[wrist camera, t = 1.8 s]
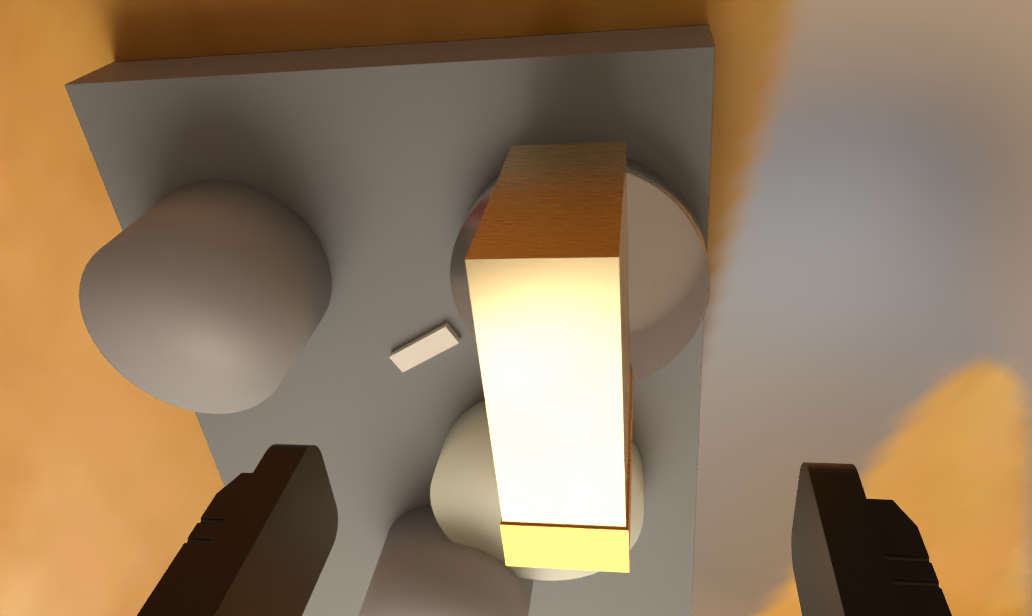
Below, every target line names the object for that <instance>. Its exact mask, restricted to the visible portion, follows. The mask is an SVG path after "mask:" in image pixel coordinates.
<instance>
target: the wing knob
mask: <svg viewBox="0 0 1032 616" xmlns="http://www.w3.org/2000/svg"><path fill="white" fill-rule="evenodd" d="M450 283H451V291H452V295H453V300H454V304H455V306H456V309H457V311H458V314H459V317H460V318H461V320H462V322H463V324H464V326H465V327H466V329H467V331H468V332H469V333H470V335H471V336H472V338H473V339H474V340H475V341H476V343H477V347H478V354H479V361H480V368H481V375H482V382H483V389H484V396H485V403H486V410H487V417H488V423H489V430H490V437H491V444H492V451H493V458H494V465H495V472H496V479H497V486H498V493H499V500H500V507H501V514H502V517H501V522H500V529H501V536H502V542H503V549H504V556H505V563H506V566H518V567H536V568H555V569H573V570H592V571H610V572H629V568H630V524H631V479H632V435H633V382H635V381H637V380H640V379H643V378H645V377H646V376H648V375H650V374H652V373H654V372H656V371H658V370H659V369H661V368H662V367H664V366H665V365H666V364H668V363H669V362H670V361H671V360H673V359H674V358H675V357H676V356H677V355H678V354H679V353H680V352H681V351H682V350H683V349H684V348H685V347H686V345H687V344H688V343H689V342H690V340H691V339H692V337H693V336H694V334H695V333H696V331H697V330H698V327H699V325H700V323H701V321H702V319H703V316H704V313H705V310H706V306H707V303H708V295H709V268H708V261H707V254H706V248H705V243H704V237H703V234H702V231H701V228H700V225H699V223H698V220H697V219H696V217H695V215H694V213H693V211H692V209H691V207H690V206H689V205H688V203H687V202H686V201H685V199H684V198H683V197H682V195H681V194H680V193H679V192H678V191H677V190H676V189H675V188H674V187H673V186H672V185H671V184H670V183H669V182H668V181H666V180H665V179H664V178H663V177H661V176H660V175H659V174H657V173H656V172H654V171H653V170H651V169H649V168H648V167H646V166H644V165H642V164H640V163H638V162H636V161H633V160H631V159H629V158H627V157H626V141H623V142H597V143H571V144H546V145H520V146H511V148H510V150H509V153H508V155H507V158H506V160H505V163H504V165H503V167H502V170H501V172H500V175H499V176H497V177H496V178H495V179H494V180H493V181H492V182H491V183H490V184H489V185H488V186H487V187H486V188H484V190H483V191H482V192H481V194H480V195H479V196H478V197H477V199H476V200H475V201H474V203H473V205H472V207H471V209H470V210H469V212H468V214H467V216H466V218H465V221H464V223H463V225H462V227H461V229H460V232H459V234H458V237H457V239H456V242H455V245H454V248H453V253H452V257H451V265H450Z"/></svg>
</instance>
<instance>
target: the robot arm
mask: <svg viewBox="0 0 1032 616" xmlns="http://www.w3.org/2000/svg"><path fill="white" fill-rule="evenodd" d="M337 528H338V511H337V506H336V502H335V499H334V495H333V492H332V488H331V485H330V481H329V478H328V474H327V471H326V467H325V464H324V460H323V456H322V453H321V451H320V449H319V448H318V447H317V446H316V445H294V444H273V445H271V446H270V447H269V448H268V449H267V451H266V452H265V454H264V455H263V457H262V459H261V460H260V462H259V463H258V465H257V467H256V468H255V470H254V472H253V473H241V474H240V475H238V476H237V477H236V478H235V479H234V480H232V481H231V482H230V483H229V484H228V485H226V486H225V487H224V488H223V489H222V490H220V491H219V492H218V493H217V494H216V496H215V497H214V499H213V500H212V502H211V503H210V505H209V506H208V508H207V509H206V511H205V512H204V514H203V515H202V517H201V522H200V523H197V525H196V526H195V528H194V529H193V531H192V532H191V534H190V535H189V537H188V542H187V543H184V544H183V546H182V547H181V549H180V551H179V552H178V554H177V555H176V557H175V558H174V560H173V561H172V563H171V564H170V566H169V567H168V569H167V570H166V572H165V573H164V575H163V577H162V578H161V580H160V581H159V583H158V584H157V586H156V587H155V589H154V590H153V592H152V593H151V595H150V596H149V598H148V599H147V601H146V603H145V604H144V606H143V607H142V609H141V610H140V612H139V613H138V615H137V616H302V615H303V613H304V610H305V608H306V606H307V604H308V601H309V599H310V597H311V594H312V592H313V590H314V588H315V585H316V583H317V581H318V579H319V576H320V574H321V572H322V570H323V567H324V565H325V563H326V561H327V558H328V556H329V554H330V552H331V549H332V547H333V545H334V542H335V539H336V534H337ZM792 562H793V570H794V575H795V580H796V585H797V591H798V596H799V601H800V606H801V611H802V616H952V615H951V612H950V610H949V607H948V605H947V602H946V599H945V597H944V594H943V592H942V589H941V588H939V581H938V579H937V576H936V573H935V571H934V568H933V566H932V563H930V562H929V555H928V553H927V550H926V548H925V545H924V542H923V540H922V537H921V535H920V532H919V530H918V527H917V526H916V525H915V524H914V523H913V521H912V520H911V519H910V518H909V517H908V516H907V515H906V514H905V513H904V512H903V511H902V510H901V509H900V507H899V506H898V505H897V504H896V503H895V502H894V501H893V500H881V499H866V496H865V493H864V490H863V487H862V484H861V480H860V477H859V474H858V472H857V469H856V467H855V466H854V465H853V464H835V463H803V464H802V465H801V469H800V475H799V482H798V490H797V497H796V505H795V512H794V520H793V527H792Z"/></svg>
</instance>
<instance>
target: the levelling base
mask: <svg viewBox="0 0 1032 616" xmlns="http://www.w3.org/2000/svg"><path fill="white" fill-rule="evenodd" d="M714 60H715V45H714V42H713V38H712V35H711V32H710V28H709V25H698V26H682V27H666V28H651V29H635V30H619V31H603V32H587V33H571V34H555V35H539V36H523V37H508V38H492V39H476V40H460V41H444V42H428V43H412V44H396V45H380V46H365V47H349V48H333V49H317V50H301V51H285V52H269V53H253V54H238V55H222V56H206V57H190V58H174V59H158V60H142V61H126V62H113V63H111V64H108V65H106V66H104V67H102V68H100V69H98V70H95V71H93V72H91V73H89V74H87V75H85V76H82V77H80V78H78V79H76V80H74V81H72V82H69V83H67V84H65V87H66V90H67V92H68V95H69V97H70V100H71V102H72V105H73V107H74V110H75V112H76V115H77V117H78V120H79V122H80V125H81V127H82V130H83V132H84V135H85V137H86V140H87V142H88V145H89V147H90V150H91V152H92V155H93V157H94V160H95V162H96V165H97V167H98V170H99V172H100V175H101V177H102V180H103V182H104V185H105V187H106V190H107V193H108V195H109V198H110V200H111V203H112V205H113V208H114V210H115V213H116V215H117V218H118V220H119V223H120V225H121V228H122V230H123V231H122V232H121V233H120V234H119V235H117V236H116V237H115V238H114V239H112V240H111V241H110V242H108V243H107V244H106V245H105V246H103V247H102V248H101V249H100V250H99V251H98V252H97V253H96V254H95V255H93V256H92V258H91V259H90V261H89V262H88V264H87V265H86V267H85V269H84V272H83V274H82V278H81V282H80V289H79V300H80V308H81V312H82V316H83V320H84V322H85V325H86V328H87V330H88V332H89V334H90V336H91V338H92V340H93V342H94V343H95V345H96V346H97V347H98V349H99V350H100V352H101V353H102V354H103V356H104V357H105V358H106V359H107V361H108V362H109V363H110V364H111V365H112V366H113V367H114V368H115V369H116V370H117V371H118V372H119V373H120V374H121V375H123V376H124V377H125V378H126V379H127V380H128V381H130V382H131V383H132V384H134V385H135V386H137V387H138V388H140V389H141V390H143V391H144V392H146V393H148V394H149V395H151V396H153V397H155V398H157V399H159V400H161V401H163V402H165V403H168V404H171V405H173V406H176V407H179V408H182V409H186V410H189V411H194V412H195V413H196V416H197V418H198V421H199V423H200V426H201V428H202V431H203V433H204V436H205V438H206V441H207V443H208V446H209V448H210V451H211V453H212V456H213V458H214V461H215V463H216V466H217V468H218V471H219V473H220V476H221V478H222V481H223V483H224V486H226V485H228V484H229V483H230V482H231V481H232V480H234V479H235V478H236V477H237V476H238V475H240V474H241V473H253V472H254V470H255V468H256V467H257V465H258V463H259V462H260V460H261V459H262V457H263V455H264V454H265V452H266V451H267V449H268V448H269V447H270V446H271V445H273V444H294V445H316V446H317V447H318V448H319V449H320V451H321V453H322V456H323V460H324V464H325V467H326V471H327V474H328V478H329V481H330V485H331V488H332V492H333V495H334V499H335V502H336V506H337V511H338V528H337V534H336V539H335V542H334V545H333V547H332V549H331V552H330V554H329V556H328V558H327V561H326V563H325V565H324V567H323V570H322V572H321V574H320V576H319V579H318V581H317V583H316V585H315V588H314V590H313V592H312V594H311V597H310V599H309V601H308V604H307V606H306V608H305V610H304V613H303V615H302V616H691V610H692V608H691V607H692V585H693V562H694V561H693V560H694V538H695V514H696V513H695V512H696V489H697V466H698V442H699V418H700V394H701V371H702V347H703V323H704V316H703V319H702V321H701V323H700V325H699V327H698V330H697V331H696V333H695V334H694V336H693V337H692V339H691V340H690V342H689V343H688V344H687V345H686V347H685V348H684V349H683V350H682V351H681V352H680V353H679V354H678V355H677V356H676V357H675V358H674V359H673V360H671V361H670V362H669V363H668V364H666V365H665V366H664V367H662V368H661V369H659V370H658V371H656V372H654V373H652V374H650V375H648V376H646V377H645V378H643V379H640V380H637V381H635V382H633V435H632V479H631V524H630V568H629V572H610V571H592V570H573V569H555V568H536V567H518V566H506V563H505V556H504V549H503V542H502V536H501V529H500V522H501V517H502V514H501V507H500V500H499V493H498V486H497V479H496V472H495V465H494V458H493V451H492V444H491V437H490V430H489V423H488V417H487V410H486V403H485V396H484V389H483V382H482V375H481V368H480V361H479V354H478V347H477V343H476V341H475V340H474V339H473V338H472V336H471V335H470V333H469V332H468V331H467V329H466V327H465V326H464V324H463V322H462V320H461V318H460V317H459V314H458V311H457V309H456V306H455V304H454V300H453V295H452V291H451V283H450V265H451V257H452V253H453V248H454V245H455V242H456V239H457V237H458V234H459V232H460V229H461V227H462V225H463V223H464V221H465V218H466V216H467V214H468V212H469V210H470V209H471V207H472V205H473V203H474V201H475V200H476V199H477V197H478V196H479V195H480V194H481V192H482V191H483V190H484V188H486V187H487V186H488V185H489V184H490V183H491V182H492V181H493V180H494V179H495V178H496V177H497V176H499V175H500V172H501V170H502V167H503V165H504V163H505V160H506V158H507V155H508V153H509V150H510V148H511V146H520V145H546V144H571V143H597V142H623V141H626V157H627V158H629V159H631V160H633V161H636V162H638V163H640V164H642V165H644V166H646V167H648V168H649V169H651V170H653V171H654V172H656V173H657V174H659V175H660V176H661V177H663V178H664V179H665V180H666V181H668V182H669V183H670V184H671V185H672V186H673V187H674V188H675V189H676V190H677V191H678V192H679V193H680V194H681V195H682V197H683V198H684V199H685V201H686V202H687V203H688V205H689V206H690V207H691V209H692V211H693V213H694V215H695V217H696V219H697V220H698V223H699V225H700V228H701V231H702V234H703V237H704V243H705V248H706V251H707V227H708V203H709V179H710V156H711V132H712V108H713V84H714Z"/></svg>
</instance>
